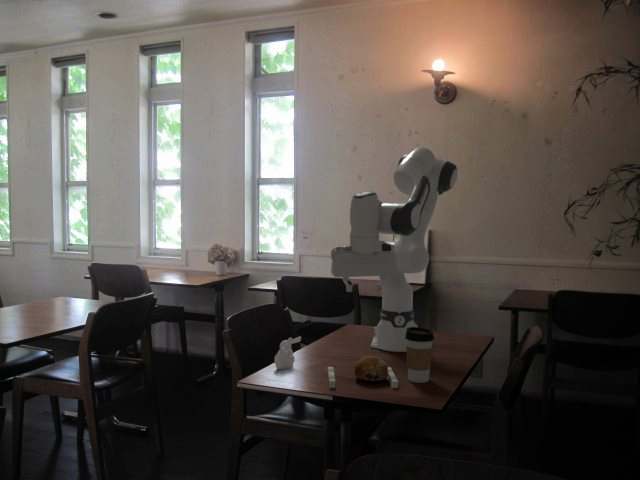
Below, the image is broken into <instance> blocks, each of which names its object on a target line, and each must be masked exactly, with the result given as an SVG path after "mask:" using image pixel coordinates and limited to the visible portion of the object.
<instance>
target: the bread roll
mask: <svg viewBox="0 0 640 480" xmlns="http://www.w3.org/2000/svg"><path fill="white" fill-rule="evenodd" d="M388 367H389V366H388V365H387V363H386V362H385V361H384V360H383V359H382V358H380V357H378V356H375V355H365V356H364V357H362V358H361V359H360V360H358V361H356V364H355V366H354V376H355V378H357V379H358V380H363V381H368V382H369V381H370V382H380V381H385V380H386V379H388V378H387V375H388Z"/></svg>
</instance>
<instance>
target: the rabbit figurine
mask: <svg viewBox="0 0 640 480" xmlns="http://www.w3.org/2000/svg"><path fill="white" fill-rule="evenodd" d="M301 340H302V336H298V337H295V338H293V337H291V336H290V337H289V338H288V339H285V340H282V341H281V342H280V344H279V350H278V351H277V352H276V354H275V356H274V364H275V367H276V369H277V370H280V371H284V370H290V369H291V368H293V367H294V363H295V359H296V358H295V355H294V353H293V349H292V345H293V344H296V343H300V342H301Z"/></svg>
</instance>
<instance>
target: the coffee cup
mask: <svg viewBox="0 0 640 480" xmlns="http://www.w3.org/2000/svg"><path fill="white" fill-rule="evenodd" d="M405 336H406V337H405V339H406V340H407V345H406V363H407V376H408V378H407V379H408V381H410V382H412V383H416V384H417V383H419V384H421V383H422V384H423V383H424V384H425V383H427V382H429V379H430V372H431V371H430V370H431V364H432V356H433V348H434V347H433V341H434V340H435V336H434V331H432V330H431V329H427V328H423V327H418V326H417V327H409V328H407V330H406V335H405Z"/></svg>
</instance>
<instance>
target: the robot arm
mask: <svg viewBox="0 0 640 480" xmlns="http://www.w3.org/2000/svg"><path fill="white" fill-rule="evenodd" d="M457 179H458V168H457V165H456V164H455V163H452V162H451V161H449V160H447V161H446V160H443V159H441V158H438V157H436V156H435V154H434V153H433V151H432V150H430V149H429V148H427V147H417V148H414V149H413V150H412V151H410V152H407V153H404V154H403V155H402V156H401V157H400V158H399V161H398V163H397V166H396V168H395V170H394V172H393V182H394V185H395V186H396V188H397V189H398V190H399V191H400V192H401V193H402V194H404V195H406V196H407V198H406V200H405V201H403V202H383V201H381V200H379V198H378V194H377V192H374V191H362V192H357V193H354V195H352V197H351V203H350V210H349V223H350V233H349V245H345V246H339V245H338V246H335V247H334V248H332V250H331V251H330V259H331V267H330V268H331V269H330V273H331V275H332V276H333V277H334V278H342V282H343V283H344V284H345V286H346V287H345V288H346V289H345V290H346V292H348V293H351V292H353V285H352V284H350V283H349V281H350V278H353V277H354V278H356V277H360V278H361V277H379V280H380V281H379V282H378V283H376V284H375V290H376V292H377V291H379V292H380V291H381V295H382V296H381V297H382V300H381V301H382V302H381V303H382V304H381V305H382V307H381V309H380V320H379V322H378V324H377V325H376V326H373V329H374V331H373V333H374V334H375V335H373V338H372V341H371V344H370V347H371V348H373V349H379V350H382V351H386V352H394V353H395V352H398V353H399V352H401V353H402V352H405V353H407V351H406V345H407V340H406V339H405V337H406V336H405V335H406V330H407V328H409V327H418V325H417V324H416V323H415V321H414V319H415V318H414V317H415V311H414V309H413V300H414V290H413V288H412V285H411V284H410V283H409V282H408V281H407V278H406V276H405V274H410V275H412V274H417V273H418V274H419V273H422V272H424V271H425V270H426V269H427V267H428V265H429V263H430V254H429V251H428V249H427V248H426V245H425V237H426V232H427V229H428V227H429V224H430V221H431V219H432V217H433V214H434V212H435V209H436V206H437V200H438V196H440V195H443V194H444V193H445V192H446V193H447V192H449V191H450V190H452V188H453V187H454V185H455V183H456V182H457ZM380 234H384V235H398V236H400V237H399V239H398V241H394V240H384V241H383V240H380Z"/></svg>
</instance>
